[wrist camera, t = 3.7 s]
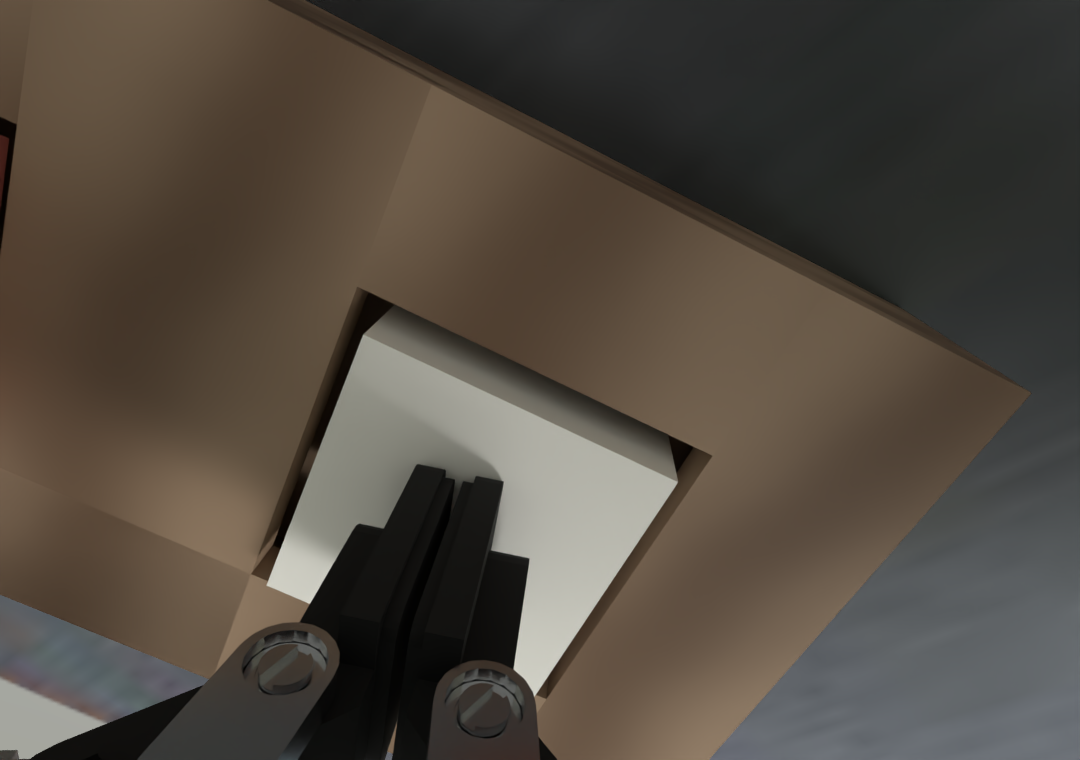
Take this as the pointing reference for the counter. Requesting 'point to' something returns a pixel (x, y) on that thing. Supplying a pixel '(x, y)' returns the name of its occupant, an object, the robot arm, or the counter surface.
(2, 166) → the red key
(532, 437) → the white key
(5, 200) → the panel
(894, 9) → the counter surface
